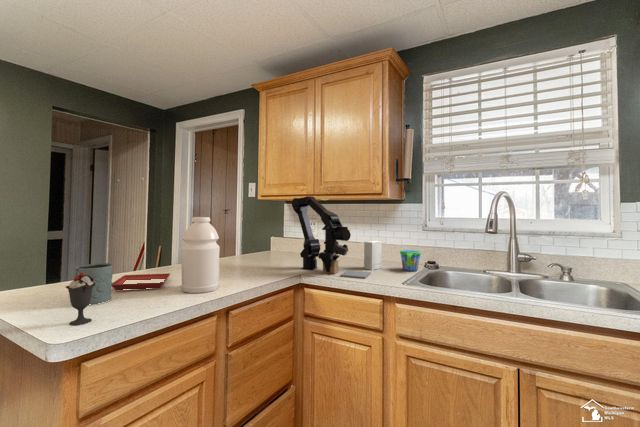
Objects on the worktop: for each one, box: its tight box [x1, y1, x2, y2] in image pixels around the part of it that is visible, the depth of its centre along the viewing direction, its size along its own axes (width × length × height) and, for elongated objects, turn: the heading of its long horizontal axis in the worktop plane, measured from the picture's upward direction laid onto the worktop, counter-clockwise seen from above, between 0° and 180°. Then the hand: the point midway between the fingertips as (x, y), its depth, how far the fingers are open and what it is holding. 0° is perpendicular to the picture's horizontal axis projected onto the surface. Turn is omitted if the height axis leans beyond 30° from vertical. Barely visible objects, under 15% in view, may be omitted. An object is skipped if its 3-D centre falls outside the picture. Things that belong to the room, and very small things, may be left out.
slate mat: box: [339, 270, 372, 280], centre depth 150 cm, size 12×12×1 cm
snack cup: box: [399, 249, 422, 272], centre depth 164 cm, size 16×10×10 cm
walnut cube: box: [322, 260, 339, 276], centre depth 155 cm, size 6×6×6 cm
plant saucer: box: [111, 273, 171, 291], centre depth 126 cm, size 18×18×3 cm
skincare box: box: [363, 240, 383, 271], centre depth 167 cm, size 8×6×15 cm
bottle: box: [180, 216, 221, 294], centre depth 122 cm, size 14×14×28 cm
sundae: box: [65, 268, 96, 326], centre depth 85 cm, size 7×7×15 cm
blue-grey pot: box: [75, 262, 114, 305], centre depth 104 cm, size 10×10×12 cm
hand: (330, 270), depth 155 cm, fingers closed on walnut cube, 6 cm apart
